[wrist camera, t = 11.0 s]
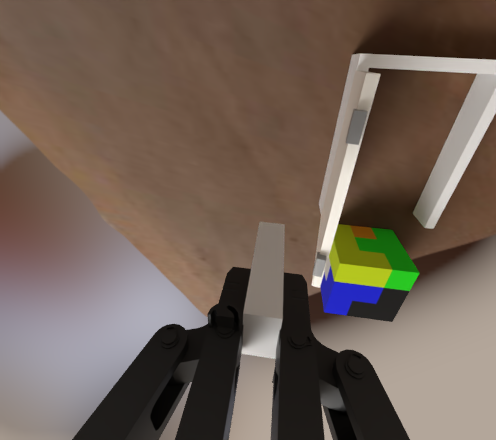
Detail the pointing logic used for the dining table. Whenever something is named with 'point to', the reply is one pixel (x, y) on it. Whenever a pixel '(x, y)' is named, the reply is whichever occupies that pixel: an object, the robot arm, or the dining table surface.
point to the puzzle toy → (366, 273)
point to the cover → (344, 165)
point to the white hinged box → (461, 135)
